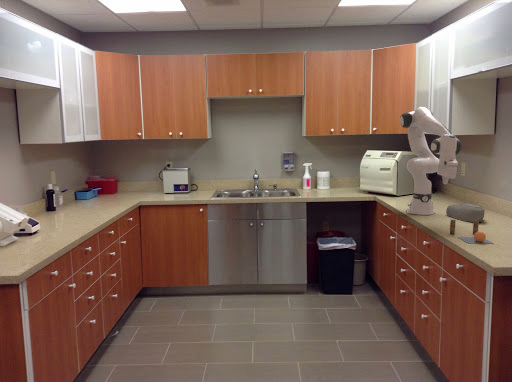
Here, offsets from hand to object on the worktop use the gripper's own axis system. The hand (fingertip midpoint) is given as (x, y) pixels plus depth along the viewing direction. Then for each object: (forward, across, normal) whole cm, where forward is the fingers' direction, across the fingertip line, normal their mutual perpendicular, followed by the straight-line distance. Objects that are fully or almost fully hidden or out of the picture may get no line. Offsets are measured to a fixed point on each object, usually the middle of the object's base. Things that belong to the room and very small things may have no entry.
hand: (445, 183), depth 267 cm
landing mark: (+24, +40, +2) cm, 46 cm away
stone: (+26, -17, +24) cm, 39 cm away
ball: (+21, +43, +3) cm, 48 cm away
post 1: (+24, +26, -4) cm, 36 cm away
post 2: (+24, +26, +9) cm, 36 cm away
